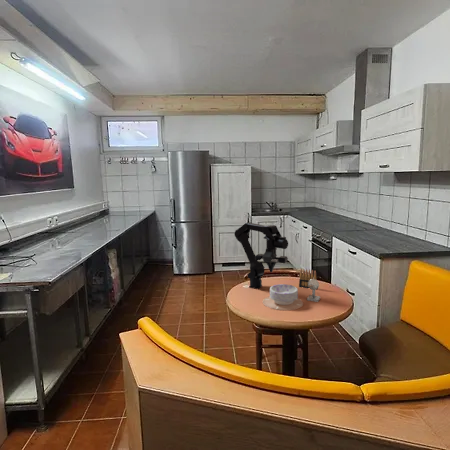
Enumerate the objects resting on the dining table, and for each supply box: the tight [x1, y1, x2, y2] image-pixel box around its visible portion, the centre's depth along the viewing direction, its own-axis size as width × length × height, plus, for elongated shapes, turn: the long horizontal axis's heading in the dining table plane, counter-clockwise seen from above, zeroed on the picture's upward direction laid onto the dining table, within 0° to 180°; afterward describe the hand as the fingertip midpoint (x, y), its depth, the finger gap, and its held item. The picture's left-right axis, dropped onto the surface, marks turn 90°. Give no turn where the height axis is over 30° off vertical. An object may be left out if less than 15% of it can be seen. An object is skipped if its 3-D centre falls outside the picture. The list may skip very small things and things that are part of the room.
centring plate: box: [262, 295, 304, 311], centre depth 183 cm, size 22×22×1 cm
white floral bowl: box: [269, 283, 299, 305], centre depth 182 cm, size 15×15×8 cm
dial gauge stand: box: [306, 278, 321, 303], centre depth 186 cm, size 6×6×12 cm
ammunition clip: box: [298, 268, 317, 289], centre depth 205 cm, size 11×2×12 cm, turn 59°
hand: (271, 272), depth 199 cm, fingers closed
